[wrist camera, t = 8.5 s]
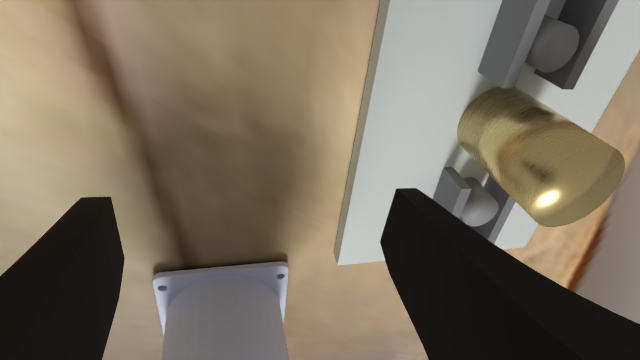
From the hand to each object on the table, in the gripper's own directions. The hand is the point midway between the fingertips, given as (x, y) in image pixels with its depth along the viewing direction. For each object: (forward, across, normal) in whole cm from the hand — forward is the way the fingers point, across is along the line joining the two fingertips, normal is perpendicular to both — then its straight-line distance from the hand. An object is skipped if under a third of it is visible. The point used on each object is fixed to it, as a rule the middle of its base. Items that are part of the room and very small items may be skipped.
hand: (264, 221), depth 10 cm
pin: (+8, -13, +1) cm, 15 cm away
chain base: (+9, -13, +1) cm, 16 cm away
